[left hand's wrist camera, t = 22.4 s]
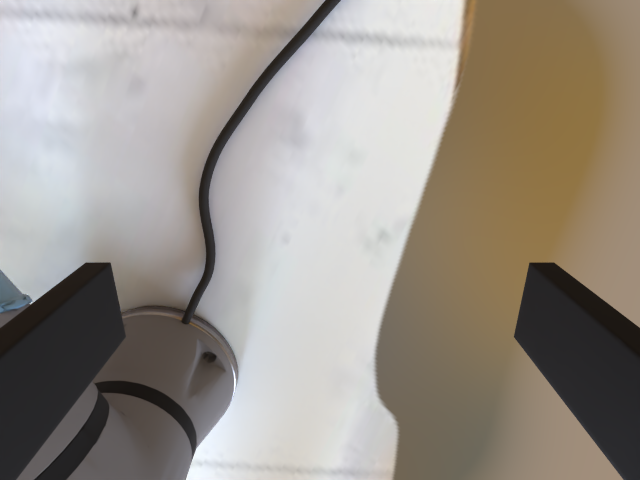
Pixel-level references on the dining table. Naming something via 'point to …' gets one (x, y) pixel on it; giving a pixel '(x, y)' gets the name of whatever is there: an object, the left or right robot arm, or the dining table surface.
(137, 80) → the dining table surface
